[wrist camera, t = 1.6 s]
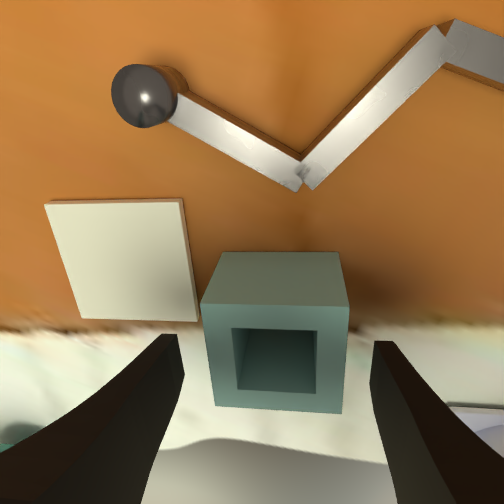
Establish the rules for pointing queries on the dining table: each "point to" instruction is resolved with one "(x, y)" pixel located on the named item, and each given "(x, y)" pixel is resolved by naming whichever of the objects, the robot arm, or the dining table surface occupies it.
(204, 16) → the dining table surface
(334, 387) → the hollow square tube
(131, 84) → the grey zigzag bar
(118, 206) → the coaster
